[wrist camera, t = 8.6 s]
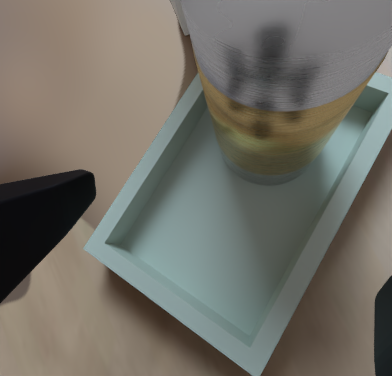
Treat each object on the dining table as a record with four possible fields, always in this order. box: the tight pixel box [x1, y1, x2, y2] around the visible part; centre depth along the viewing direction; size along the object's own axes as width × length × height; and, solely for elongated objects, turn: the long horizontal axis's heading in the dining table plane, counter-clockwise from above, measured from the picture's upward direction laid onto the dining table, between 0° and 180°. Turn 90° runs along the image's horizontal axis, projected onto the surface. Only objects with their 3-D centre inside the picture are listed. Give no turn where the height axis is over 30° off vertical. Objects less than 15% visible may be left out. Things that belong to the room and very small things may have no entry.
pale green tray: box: [83, 72, 392, 376], centre depth 17 cm, size 18×12×3 cm, turn 148°
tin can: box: [181, 0, 392, 186], centre depth 13 cm, size 7×7×12 cm
